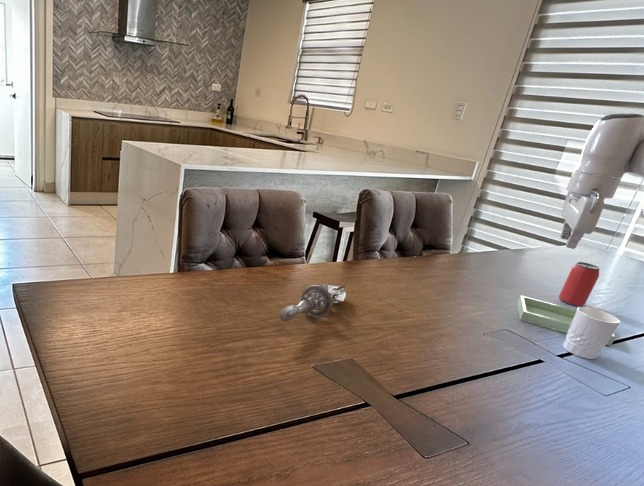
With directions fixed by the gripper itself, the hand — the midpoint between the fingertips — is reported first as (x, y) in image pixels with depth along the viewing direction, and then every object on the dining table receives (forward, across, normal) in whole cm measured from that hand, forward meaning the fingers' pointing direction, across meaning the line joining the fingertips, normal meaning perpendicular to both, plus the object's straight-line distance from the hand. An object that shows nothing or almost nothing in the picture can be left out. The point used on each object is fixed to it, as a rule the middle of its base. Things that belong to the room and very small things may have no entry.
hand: (567, 243), depth 114 cm
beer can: (+23, +30, -12) cm, 39 cm away
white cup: (+23, -10, -9) cm, 26 cm away
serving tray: (+23, +8, -7) cm, 25 cm away
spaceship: (+22, -38, +48) cm, 65 cm away
